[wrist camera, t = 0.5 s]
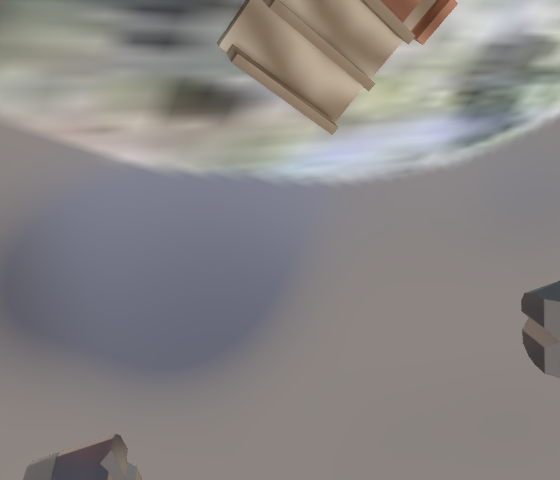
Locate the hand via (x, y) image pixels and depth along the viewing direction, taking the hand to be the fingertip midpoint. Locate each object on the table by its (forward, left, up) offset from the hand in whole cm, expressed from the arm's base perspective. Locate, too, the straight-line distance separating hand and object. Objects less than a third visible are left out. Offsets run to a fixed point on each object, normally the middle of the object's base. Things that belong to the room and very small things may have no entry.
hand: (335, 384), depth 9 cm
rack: (-6, +15, -46) cm, 49 cm away
